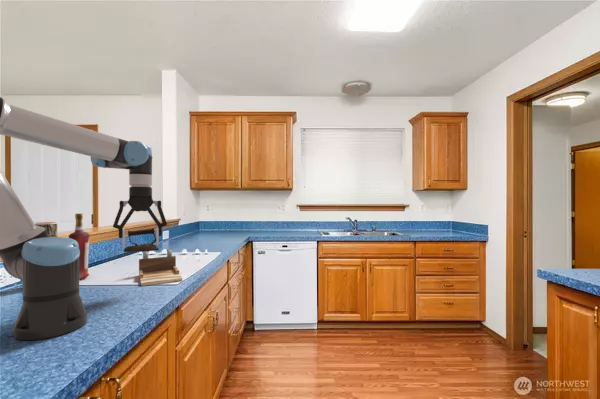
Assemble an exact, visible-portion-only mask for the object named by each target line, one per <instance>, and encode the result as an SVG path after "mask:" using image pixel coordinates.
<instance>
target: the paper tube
mask: <svg viewBox="0 0 600 399" xmlns="http://www.w3.org/2000/svg"><path fill="white" fill-rule="evenodd" d="M34 224H35V225H36V226H40V227H44V228H45V229H46V231H47V232H48V234H49V236H50V237H58V222H57V221H42V222H34Z"/></svg>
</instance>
